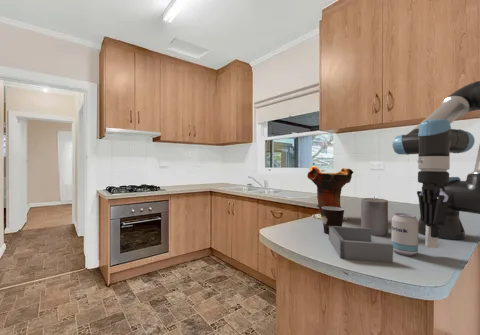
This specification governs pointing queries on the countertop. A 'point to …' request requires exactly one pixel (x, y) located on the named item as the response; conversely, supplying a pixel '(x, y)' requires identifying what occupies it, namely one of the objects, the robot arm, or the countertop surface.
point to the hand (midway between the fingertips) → (431, 246)
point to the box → (359, 244)
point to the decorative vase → (329, 187)
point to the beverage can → (404, 234)
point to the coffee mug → (332, 217)
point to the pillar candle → (375, 215)
